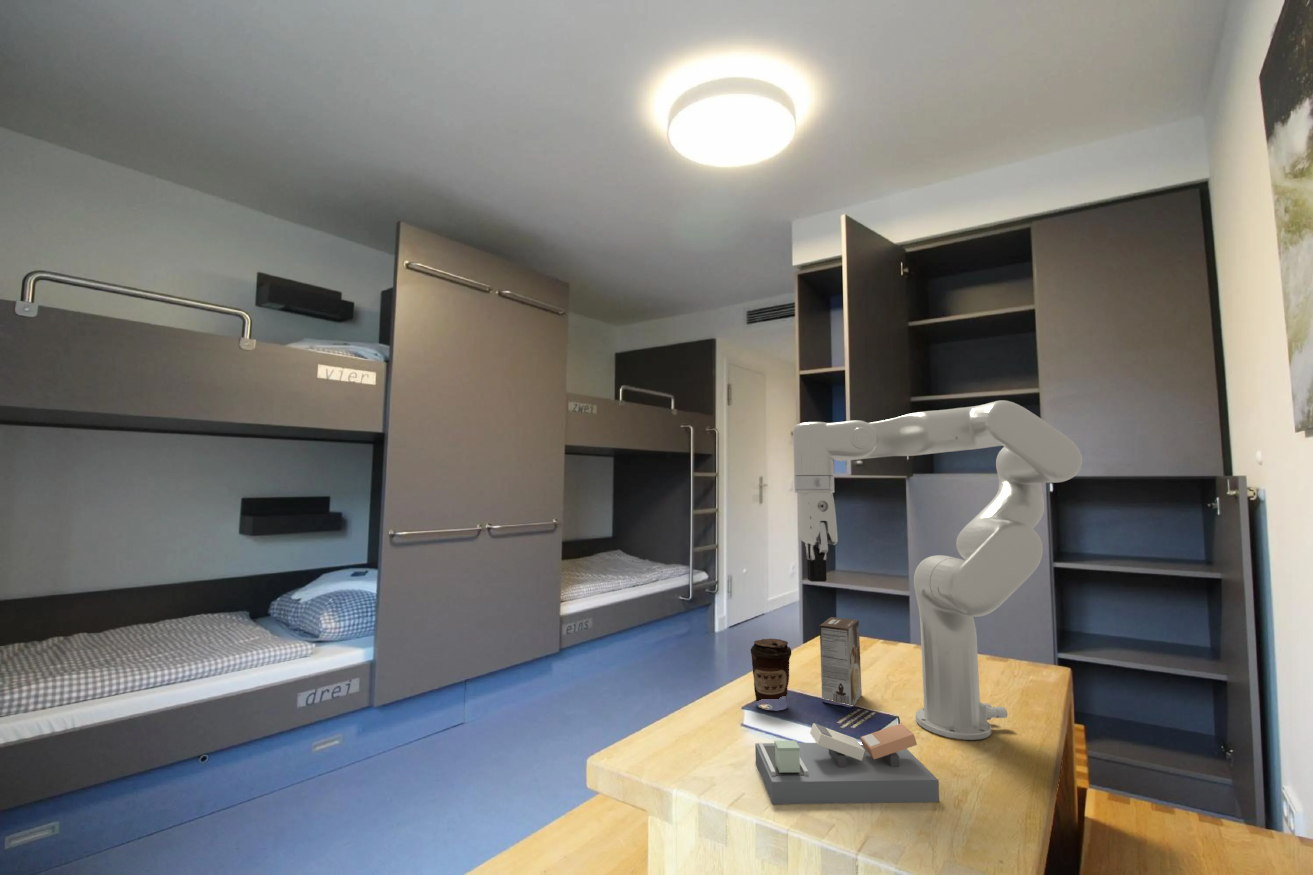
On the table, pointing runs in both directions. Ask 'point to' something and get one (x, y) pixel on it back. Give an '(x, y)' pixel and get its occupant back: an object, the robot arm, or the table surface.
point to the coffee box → (840, 660)
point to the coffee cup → (770, 668)
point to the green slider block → (787, 756)
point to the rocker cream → (837, 741)
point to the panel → (846, 777)
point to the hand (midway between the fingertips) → (817, 580)
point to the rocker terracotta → (888, 741)
